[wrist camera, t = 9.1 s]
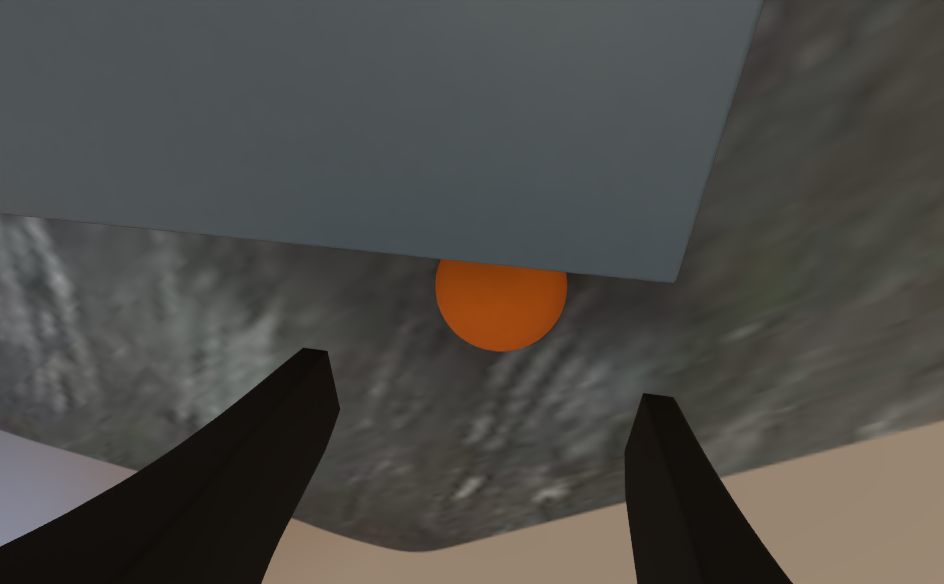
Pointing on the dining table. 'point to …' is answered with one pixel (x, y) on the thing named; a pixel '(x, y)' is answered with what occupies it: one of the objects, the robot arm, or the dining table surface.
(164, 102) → the cabinet
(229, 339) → the dining table surface
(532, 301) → the ball
